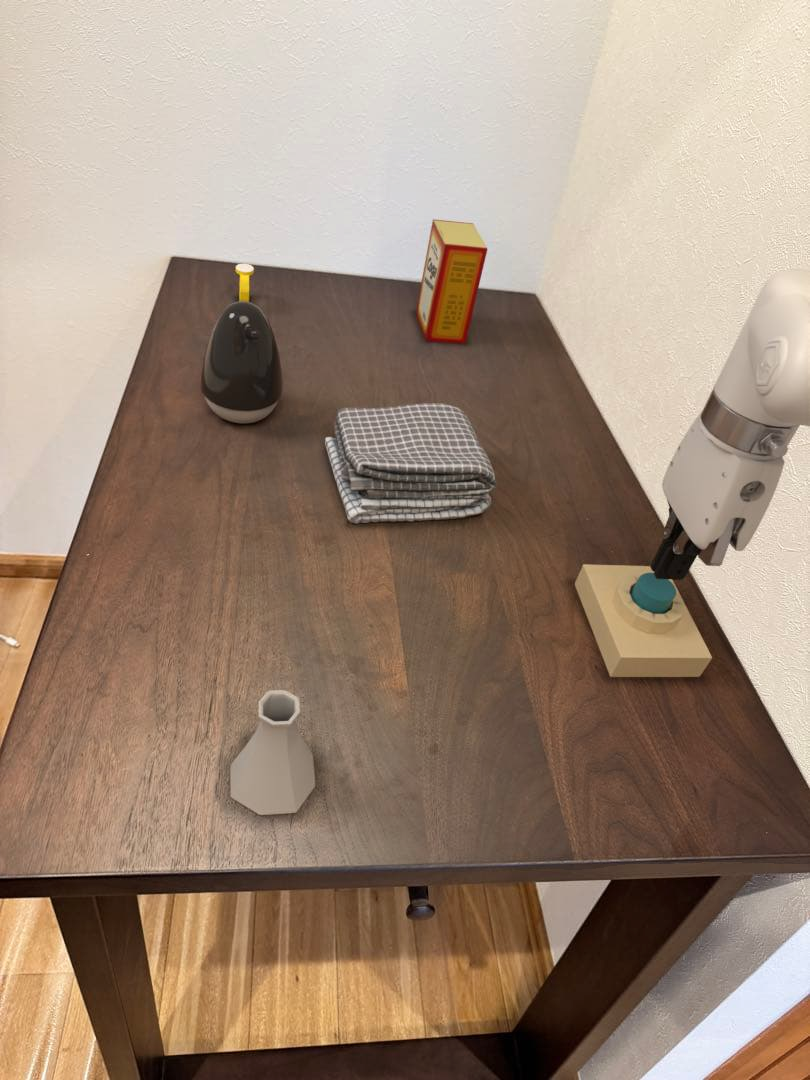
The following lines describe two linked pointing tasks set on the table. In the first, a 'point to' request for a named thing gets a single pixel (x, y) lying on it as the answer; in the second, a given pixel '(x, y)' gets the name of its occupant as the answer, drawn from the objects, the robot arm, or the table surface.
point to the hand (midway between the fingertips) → (666, 573)
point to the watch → (244, 280)
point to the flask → (274, 760)
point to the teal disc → (653, 593)
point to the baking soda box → (450, 281)
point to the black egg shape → (242, 365)
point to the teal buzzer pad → (639, 627)
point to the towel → (409, 464)
